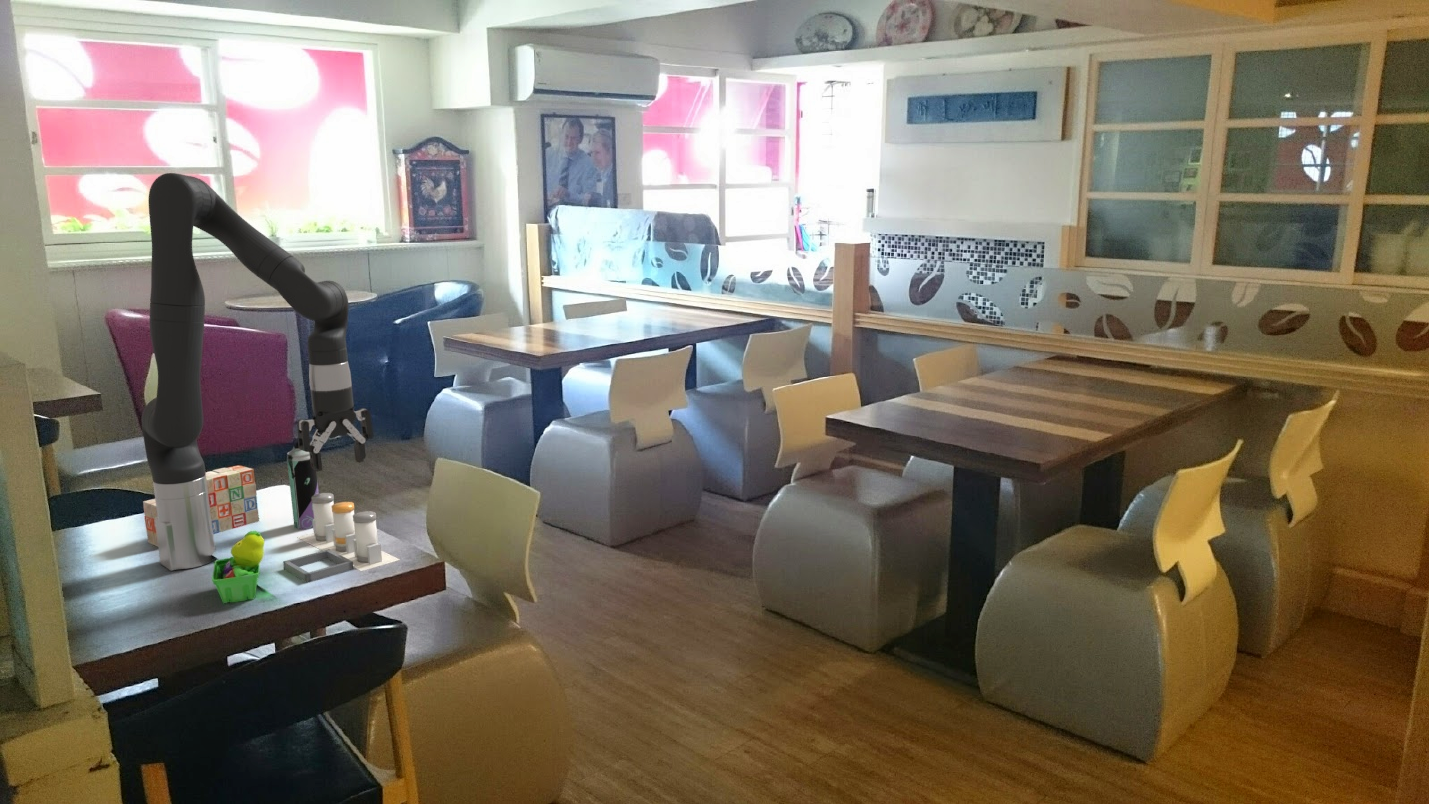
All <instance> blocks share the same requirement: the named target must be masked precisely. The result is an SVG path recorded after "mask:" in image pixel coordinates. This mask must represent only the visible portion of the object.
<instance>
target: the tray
mask: <svg viewBox="0 0 1429 804" xmlns="http://www.w3.org/2000/svg"><path fill="white" fill-rule="evenodd" d="M324 560H329V561H331V562H332V563H335V564H333V565H331V566H327V567H323V568H320V569H316V570H313V571H309V572H308V571H307V570H305V569H303V568H301V567H304V566H306V565H309V564H313V563H317V562H321V561H324ZM282 564H283V570H284V571H287V572H288V573H290V574H291V575H293V576H295V577H296V578H298V579H300V580H302V581H303V582H305V583H310V582H315V581H318V580H321V579H324V578H329V577H331V576H335V575H339V574H343V573H345V572H349V571H353V570H355V568H354V567H353V561H351V560H349V559H347V558H345V557H343V556H341V555H339V554H337V553H335V552H333V551H332V550H330V549H328V550H324V551H322V550H320V551H318V552H312V553H310V554H306V555H303V556H302V555H301V556H300V557H295V558H290V559H287V560H284V561H283V562H282Z"/></svg>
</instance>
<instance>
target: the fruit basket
mask: <svg viewBox="0 0 1429 804" xmlns="http://www.w3.org/2000/svg"><path fill="white" fill-rule="evenodd" d="M264 545H265V539H264V538H263V537H262V535H261V533H260V532H259V531H258V530H250V531H247V533H246V534H245V535H244V537H243V538H242V539H240V540H239V541H237V542H236V543H235V544H234V545H233V546H232V547H231V549H230V554H231V555H232V556H230V557H228V558H227V557H226V558H223V559H217V560H216V561H215V560H214V564H213V565H214V567H213V571H212V577H211V581H212V582H213V584H214V586H215V587H216V589H217V592H218V594H219V597H220V599H221V602H222V603H223V604H224V603H226V604H228V603H227V602H230V603H239V602H242V601H247V600H254V599H255V598H256V592H257V584H258V578H259V576H260V563H261V562H262V560H263V558H264V553H265V552H264Z"/></svg>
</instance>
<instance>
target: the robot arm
mask: <svg viewBox="0 0 1429 804" xmlns="http://www.w3.org/2000/svg"><path fill="white" fill-rule="evenodd" d="M148 213H149V215H148V216H149V227H150V236H151V237H150V238H151V239H150V240H151V269H150V275H151V276H150V278H151V279H150V280H151V281H150V299H149V300H150V301H149V334H150V340H151V345H152V351H153V354H154V359H155V364H156V367H157V368H156V369H157V388H156V389H157V390H156V397H155V398H153V399H151V400H150V401H149V402H148V403H147V404H146V405H145V407H144V409H143V411H142V414H141V430H142V436H143V443H144V448H145V455H146V460H147V463H148V464H147V465H148V467H149V470H150V473H151V477H152V484H153V492H154V499H155V501H156V508H157V515H158V517H155V526H156V534H157V541H158V547H157V548H158V554H159V561H160V563H159V564H161V565H162V566H163V567H165V568H166V569H167V570H169V571H175V570H176V571H177V570H186V569H192V568H193V569H194V568H198V567H201V566H204V565H207V564H209V563H212V562H213V561H215V559H216V558H217V557H216V556H214V555H213V554H214V553H215V552H216V545H215V538H214V534H213V528H212V520H211V512H210V504H209V496H208V488H207V480H206V466H205V461H204V460H203V457H202V455H201V453H200V449H199V445H198V440H197V439H199V436H200V434H201V433H202V430H203V428H204V427H203V426H204V411H203V401H202V386H201V372H202V370H201V369H202V358H203V348H204V347H203V346H204V330H205V329H204V328H205V317H206V316H205V314H206V311H205V309H206V298H205V291H204V287H203V283H202V280H201V277H200V274H199V272H198V269H197V266H196V261H195V258H194V253H193V235H194V232H193V231H194V227H195V228H197V229H199V230H201V231H202V232H204V233H206V234H208V235H210V236H212V237H213V238H215V239H216V240H218V241H219V242H221V244H223V245H225V247H226V248H228V249H229V251H231V252H232V254H233V255H234V256H235V258H237V260H238V261H239V262H240V263H241V264H242V265H243V266H244V267H245V268H246V269H247V270H248V271H250V273H252V274H253V275H254V276H256V277H258V278H259V279H260V280H261V281H263V282H264V283H266V284H267V285H269V286H270V287H271V288H273V289H274V290H276V291H277V292H278V293H279V295H280V296H281V297H282V299H284V301H285V302H286V303H287V304H288V305H289V306H290V307H291V308H292V309H293V310H294V311H295V312H296V313H297V314H299V315H300V316H302V317H303V318H305V319H308V320H310V321H313V331H312V332H311V333H310V334H309V335H308V337H307V343H306V344H307V346H306V347H307V354H308V356H307V357H308V363H309V366H308V367H309V368H308V371H309V372H308V376H309V387H310V396H311V406H312V412H313V413H312V414H313V417H312V419H307V420H305V419H301V418H300V419H298V420H297V424H296V425H297V442H298V447H299V449H300V450H303V451H305V452H309V453H310V462H311V467H312V468H314V470H315V471H316V472H323V463H322V453H321V452H320V451H321V449H322V447H323V445H324V444H325V443H327V441H328V439H333V438H336V437H345V436H347V435H348V436H349V437H350V438H351V439H353V441H355V442H354V443H353V451H354V452H353V453H354V459H355V462H358V463H363V462H364V460H365V459H366V446H365V444H366V441H369V440H371V439H374V436H375V435H374V430H373V429H374V428H373V421H372V416H371V415H372V414H371V411H370V410H369V409H366V408H359V409H358V410H356V411H355V409H354V406H355V405H354V398H353V397H354V395H353V386H352V385H353V383H352V375H351V374H352V373H351V369H350V365H349V361H348V360H349V359H348V349H347V341H346V340H347V339H346V337H347V331H348V323H349V322H348V321H349V310H350V309H349V308H350V307H349V299H348V296H347V292H346V290H345V289H344V288H343V286H342V285H340V283H338V282H336V281H334V280H323V281H318V282H316V281H315V280H313V279H312V278H310V276H308V275H307V274H306V270H305V269H306V268H305V266H304V264H303V263H302V262H301V261H300V260H299V259H298V258H297V257H294V256H293V255H292V254H291V253H289V252H288V251H287V250H285V249H284V248H283V247H281V246H280V245H279V244H277V243H275V242H274V241H273V240H272V239H270V238H268V237H267V236H266V235H265V234H263V233H262V232H261V231H259V230H258V229H256V228H255V227H254V226H253V225H251V224H250V223H249V222H247V221H246V220H245V219H244V218H243V217H242V216H240V214H238V213H237V212H236V211H235V210H234V209H233V208H232V207H231V206H230V205H229V204H227V202H226V201H225V200H224V199H223V197H221V196H220V195H219V193H217V192H216V191H215V190H214V189H213V188H212V187H211V186H210V185H209V184H208V183H206V181H204V180H202V179H201V178H199V177H195V176H192V175H185V174H181V173H176V172H168V173H163V174H161V175H159V176H158V177H156V178H155V180H154V181H153V182H152V184H151V187H150V188H149V193H148ZM356 419H357V420H358V421H359V423H360V428H361V429H360V430H361V433H360V431H359V430H358V429H357V428H356V427H355V426H354V423H355V421H356ZM313 426H314V428H316V430H315V432H314V434H313V435H312V440H310V439H311V435H310V432H311V430H312V428H313Z"/></svg>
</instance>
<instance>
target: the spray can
mask: <svg viewBox="0 0 1429 804" xmlns="http://www.w3.org/2000/svg"><path fill="white" fill-rule="evenodd" d="M286 455H287V457H286V461H287V470H288V479H289V480H288V481H289V488H290V489H289V490H290V498H291V507H292V517H293V519H292V520H293V526H294V529H296V530H310V529H313V519H314V512H313V503H312V496H313V495H316V494H320V492H319V485H318V484H319V483H318V482H319V481H318V473H317V472H318V471H315V470H314V468H312V467H311V462H310V453H309V452H305V451H303V450H300V449H299V447H298V441H297V442H296V441H295V442H294V446H293V447H292V449H291V450H290V451H288V452H287V453H286Z"/></svg>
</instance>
